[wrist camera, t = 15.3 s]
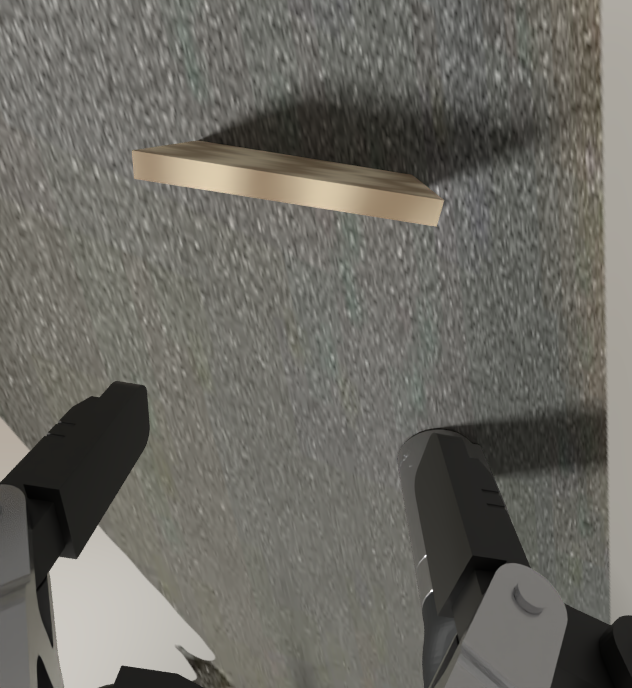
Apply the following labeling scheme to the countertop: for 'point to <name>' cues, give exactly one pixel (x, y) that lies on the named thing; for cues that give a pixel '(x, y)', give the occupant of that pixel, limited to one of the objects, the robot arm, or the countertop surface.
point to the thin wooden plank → (289, 180)
